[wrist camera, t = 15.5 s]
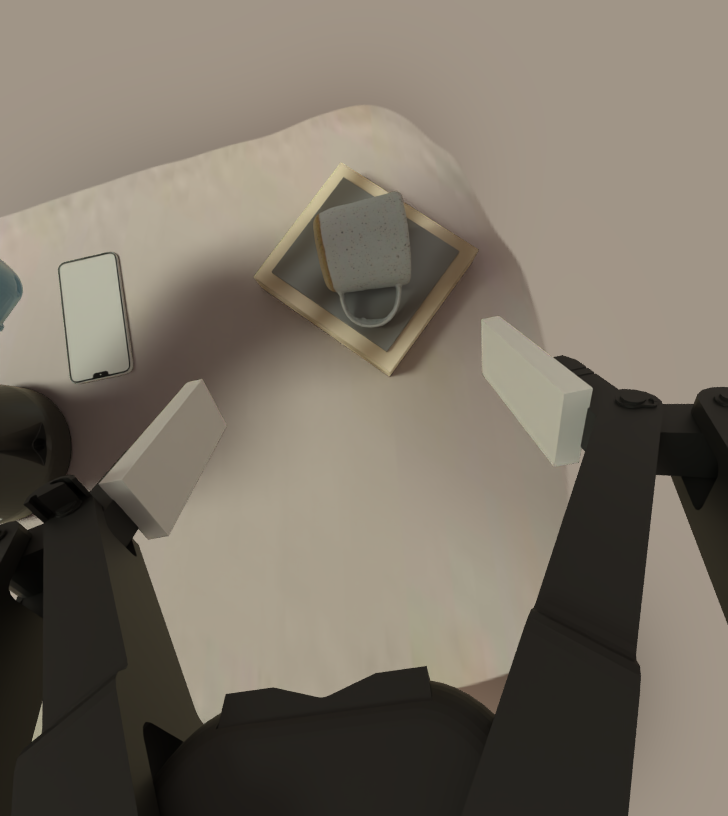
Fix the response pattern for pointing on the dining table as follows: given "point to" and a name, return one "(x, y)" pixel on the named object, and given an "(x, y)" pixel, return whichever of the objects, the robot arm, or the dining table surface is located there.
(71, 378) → the smartphone
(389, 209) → the ceramic mug
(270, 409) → the dining table surface
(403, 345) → the wooden picture frame
